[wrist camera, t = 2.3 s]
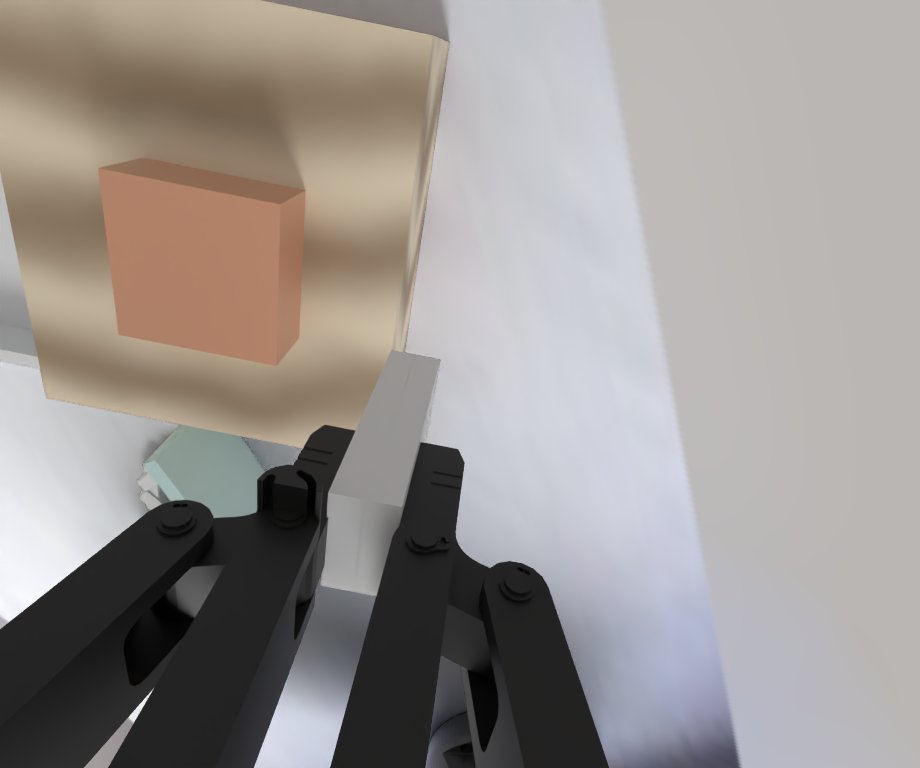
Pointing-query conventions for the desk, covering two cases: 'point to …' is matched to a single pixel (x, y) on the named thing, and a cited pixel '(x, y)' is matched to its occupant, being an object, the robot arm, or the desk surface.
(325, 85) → the plate
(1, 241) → the box
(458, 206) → the desk surface
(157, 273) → the tile
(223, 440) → the l-shaped corner panel
